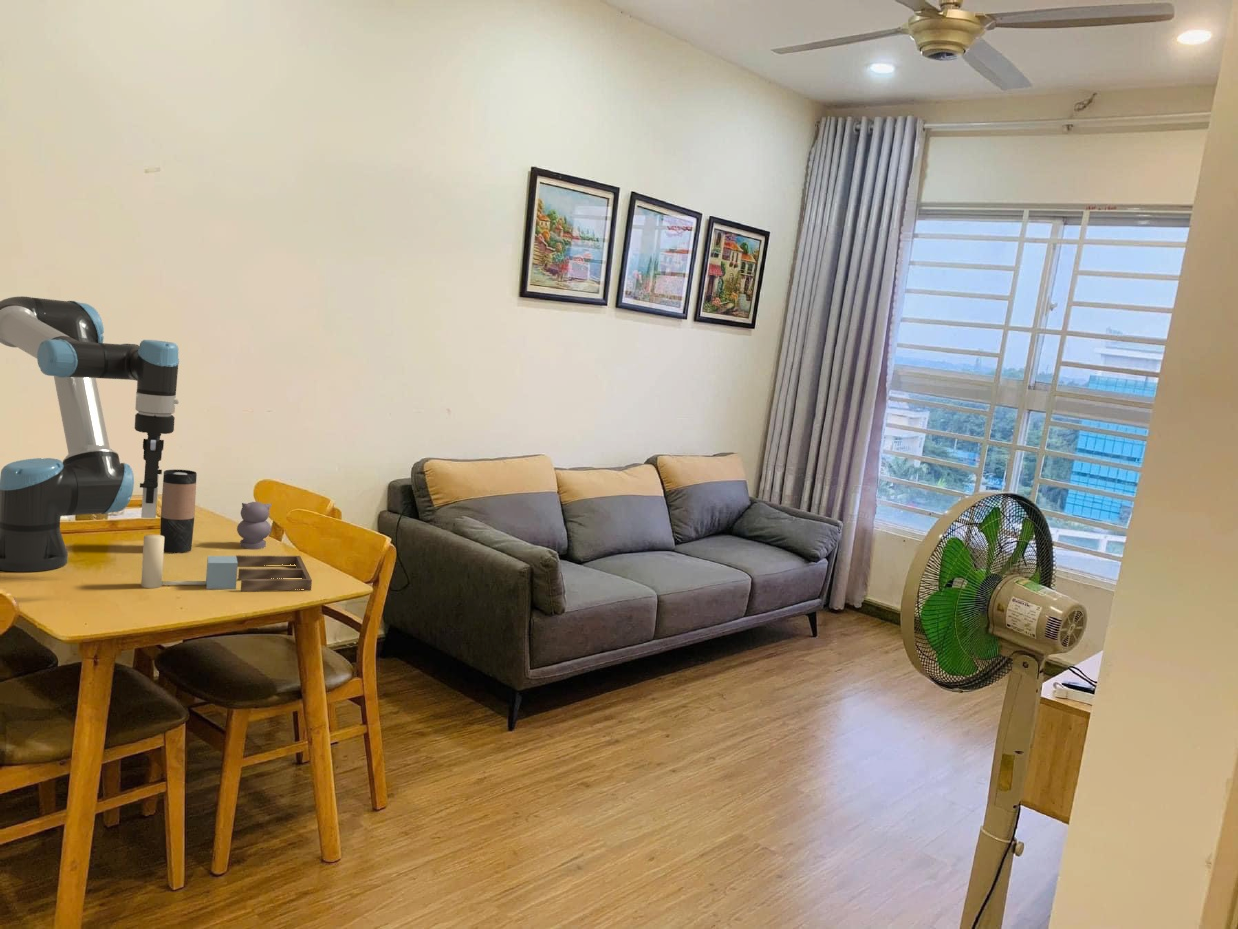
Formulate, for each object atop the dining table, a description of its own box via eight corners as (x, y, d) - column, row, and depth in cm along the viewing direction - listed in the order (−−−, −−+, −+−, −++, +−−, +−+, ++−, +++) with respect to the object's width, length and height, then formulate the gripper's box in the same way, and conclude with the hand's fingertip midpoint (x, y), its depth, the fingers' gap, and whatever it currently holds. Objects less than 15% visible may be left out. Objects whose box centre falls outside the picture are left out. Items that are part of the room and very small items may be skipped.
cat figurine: (265, 541, 248) (268, 498, 247) (274, 549, 242) (277, 504, 241) (232, 543, 243) (235, 499, 241) (240, 550, 237) (243, 505, 235)
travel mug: (198, 548, 234) (203, 472, 231) (181, 555, 226) (186, 476, 223) (170, 544, 234) (174, 468, 232) (152, 550, 227) (156, 471, 224)
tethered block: (140, 589, 196) (143, 540, 195) (141, 582, 202) (144, 533, 200) (235, 588, 205) (239, 541, 203) (234, 581, 210) (237, 535, 209)
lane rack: (240, 591, 203) (241, 580, 203) (235, 565, 223) (235, 555, 222) (311, 590, 210) (311, 580, 210) (299, 565, 229) (300, 555, 229)
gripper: (174, 422, 185) (168, 524, 188) (174, 407, 207) (168, 498, 210) (133, 420, 182) (127, 523, 185) (137, 404, 204) (132, 497, 207)
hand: (149, 510), depth 197 cm, fingers open, 13 cm apart
